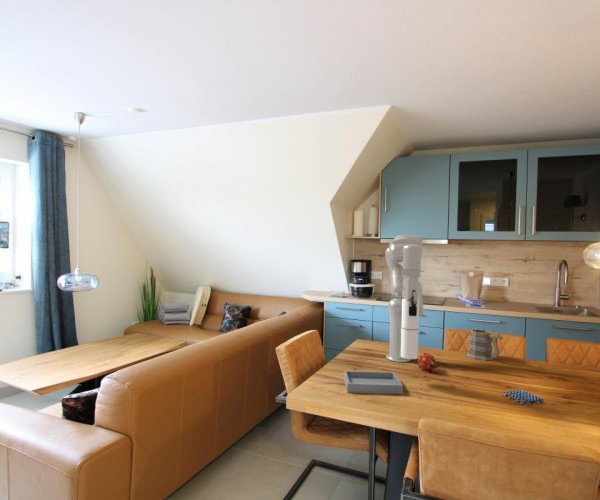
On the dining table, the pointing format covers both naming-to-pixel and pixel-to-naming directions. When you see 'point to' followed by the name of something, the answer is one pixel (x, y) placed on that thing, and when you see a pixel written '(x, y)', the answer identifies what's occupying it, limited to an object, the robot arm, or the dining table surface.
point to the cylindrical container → (409, 332)
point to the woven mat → (523, 397)
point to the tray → (372, 382)
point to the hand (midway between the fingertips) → (410, 313)
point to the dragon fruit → (427, 362)
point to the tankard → (483, 344)
